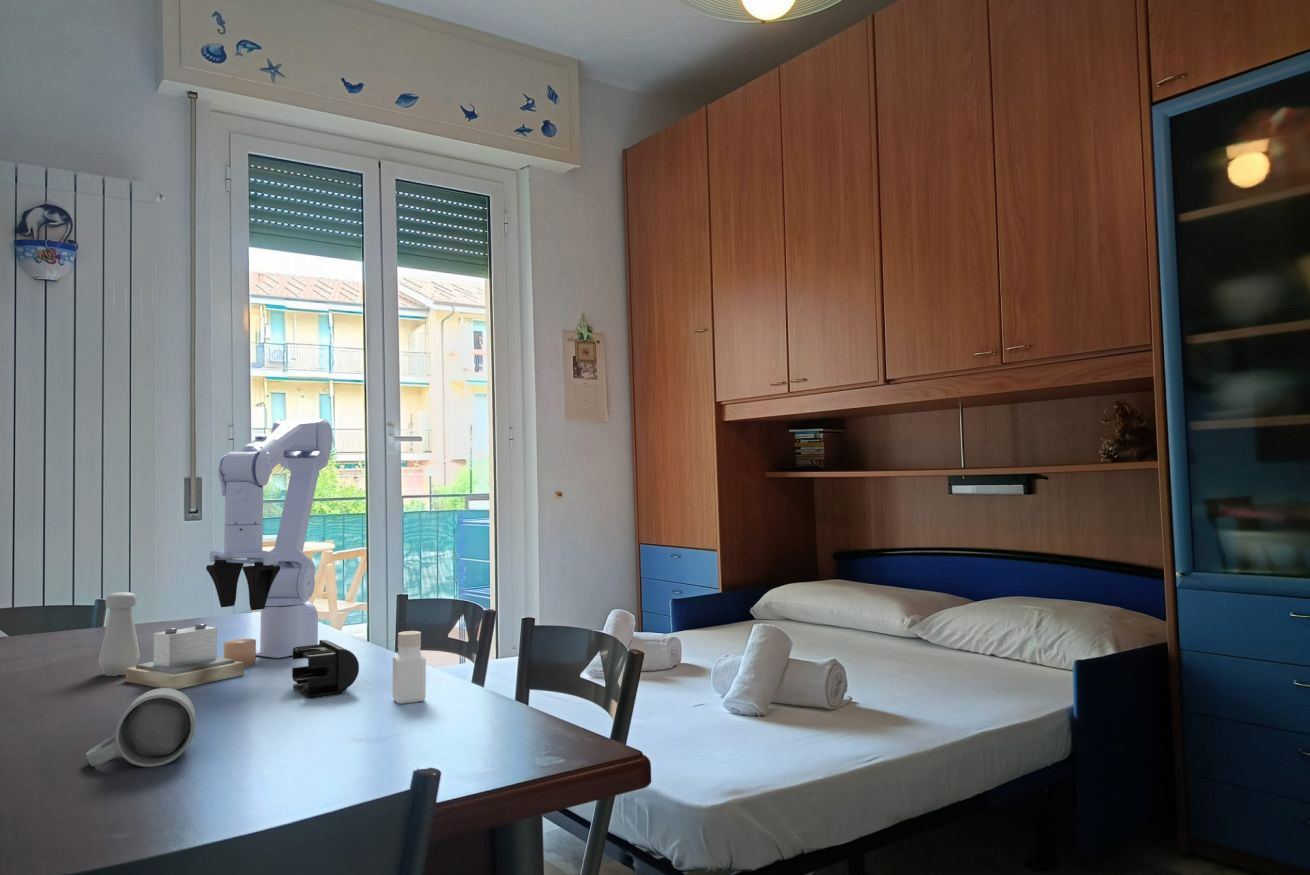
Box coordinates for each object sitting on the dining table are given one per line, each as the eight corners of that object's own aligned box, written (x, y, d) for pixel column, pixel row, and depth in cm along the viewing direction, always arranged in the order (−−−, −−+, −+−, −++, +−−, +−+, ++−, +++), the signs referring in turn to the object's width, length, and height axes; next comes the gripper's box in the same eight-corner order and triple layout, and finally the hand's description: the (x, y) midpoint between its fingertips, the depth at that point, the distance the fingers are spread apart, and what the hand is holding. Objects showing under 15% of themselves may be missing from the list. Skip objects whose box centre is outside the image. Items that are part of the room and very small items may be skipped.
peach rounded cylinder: (243, 661, 157) (243, 637, 157) (261, 663, 154) (262, 640, 155) (216, 666, 153) (217, 642, 153) (235, 669, 150) (236, 644, 150)
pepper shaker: (391, 699, 128) (392, 631, 129) (420, 696, 130) (420, 629, 131) (397, 705, 125) (398, 636, 125) (426, 702, 127) (427, 633, 127)
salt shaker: (125, 677, 144) (127, 595, 144) (89, 677, 144) (92, 595, 145) (146, 669, 150) (148, 590, 150) (112, 669, 150) (114, 590, 150)
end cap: (359, 693, 133) (359, 646, 133) (309, 700, 128) (309, 652, 129) (339, 681, 141) (339, 637, 141) (291, 687, 137) (291, 642, 137)
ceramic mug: (195, 743, 107) (195, 677, 108) (194, 762, 100) (194, 691, 100) (91, 757, 103) (91, 688, 103) (81, 778, 95) (81, 704, 96)
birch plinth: (197, 667, 151) (197, 652, 151) (243, 674, 145) (244, 659, 145) (125, 681, 141) (125, 665, 141) (172, 689, 135) (172, 673, 135)
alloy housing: (200, 656, 147) (201, 622, 148) (216, 659, 146) (217, 623, 146) (153, 665, 140) (154, 629, 141) (169, 668, 139) (170, 631, 139)
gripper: (193, 524, 148) (191, 608, 148) (251, 526, 141) (249, 614, 141) (232, 522, 154) (230, 602, 154) (289, 524, 147) (288, 608, 147)
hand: (242, 608), depth 148 cm, fingers open, 7 cm apart
